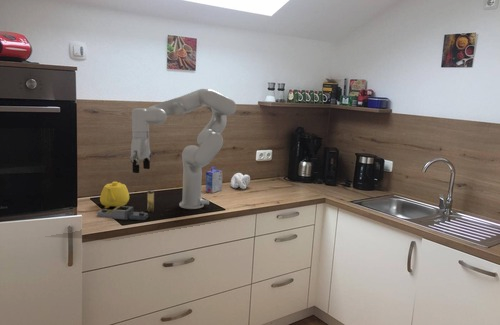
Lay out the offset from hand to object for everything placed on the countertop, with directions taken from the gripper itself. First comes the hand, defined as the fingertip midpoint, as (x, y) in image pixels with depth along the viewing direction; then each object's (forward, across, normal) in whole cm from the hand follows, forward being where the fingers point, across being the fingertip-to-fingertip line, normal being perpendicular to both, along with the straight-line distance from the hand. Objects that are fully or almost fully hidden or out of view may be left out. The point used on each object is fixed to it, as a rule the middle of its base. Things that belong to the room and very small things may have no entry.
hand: (141, 170), depth 198 cm
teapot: (+20, -2, -17) cm, 27 cm away
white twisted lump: (+23, -68, +30) cm, 78 cm away
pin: (+21, -3, +3) cm, 21 cm away
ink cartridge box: (+22, -54, +17) cm, 61 cm away
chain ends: (+20, +10, -4) cm, 23 cm away
